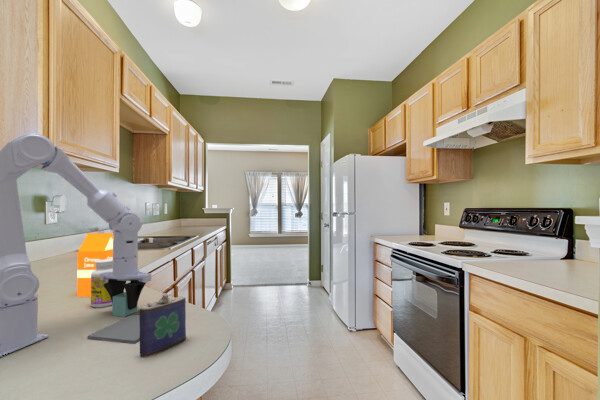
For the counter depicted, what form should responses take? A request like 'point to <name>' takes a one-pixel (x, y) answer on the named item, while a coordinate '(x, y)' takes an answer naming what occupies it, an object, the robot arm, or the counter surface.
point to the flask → (162, 325)
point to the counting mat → (120, 331)
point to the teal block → (121, 305)
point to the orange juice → (92, 259)
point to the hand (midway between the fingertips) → (125, 307)
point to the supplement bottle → (100, 284)
